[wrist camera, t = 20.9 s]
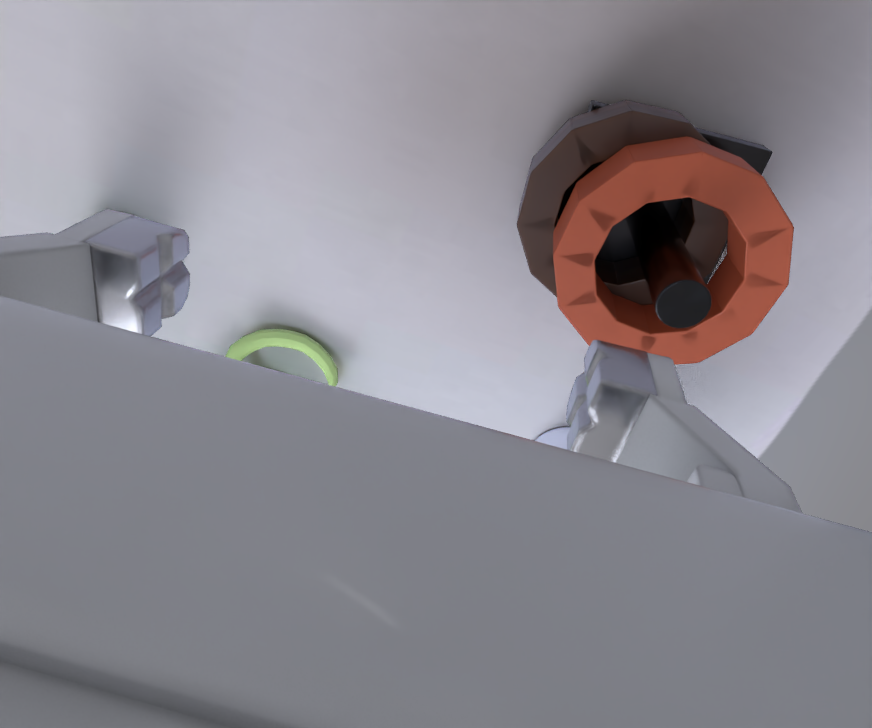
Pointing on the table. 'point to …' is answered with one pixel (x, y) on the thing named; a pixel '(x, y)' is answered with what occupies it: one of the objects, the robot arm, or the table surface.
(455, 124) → the table surface
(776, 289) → the terracotta ring
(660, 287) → the peg stand
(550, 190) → the walnut ring
